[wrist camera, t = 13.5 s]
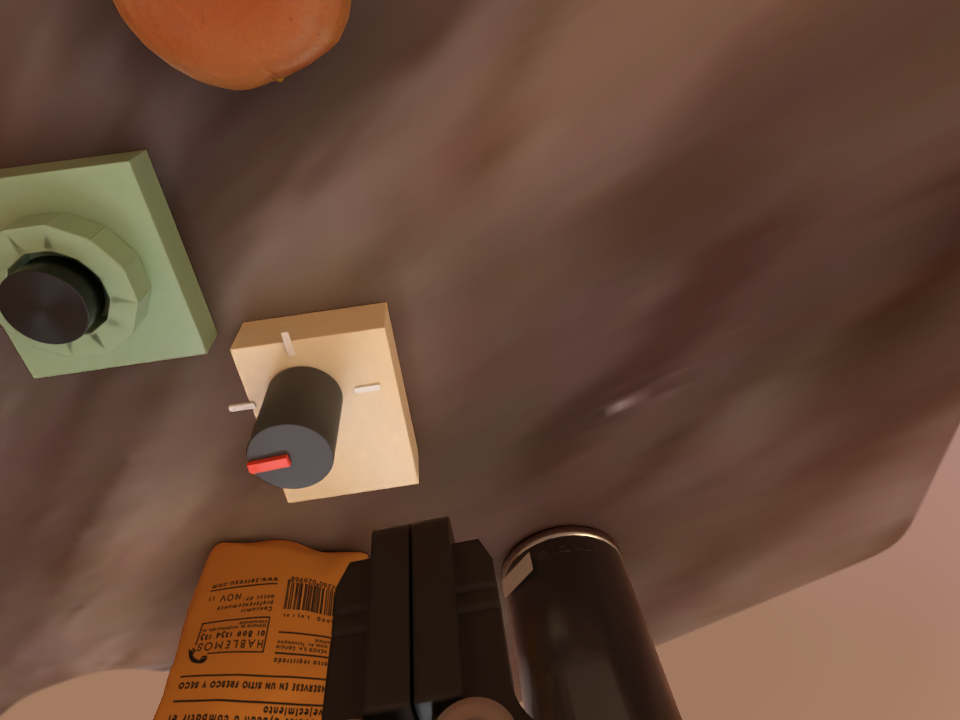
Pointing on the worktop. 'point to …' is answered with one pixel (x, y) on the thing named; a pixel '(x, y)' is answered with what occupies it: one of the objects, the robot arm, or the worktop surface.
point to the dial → (296, 429)
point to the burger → (237, 36)
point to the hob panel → (363, 381)
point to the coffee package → (256, 634)
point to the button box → (105, 260)
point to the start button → (51, 299)
